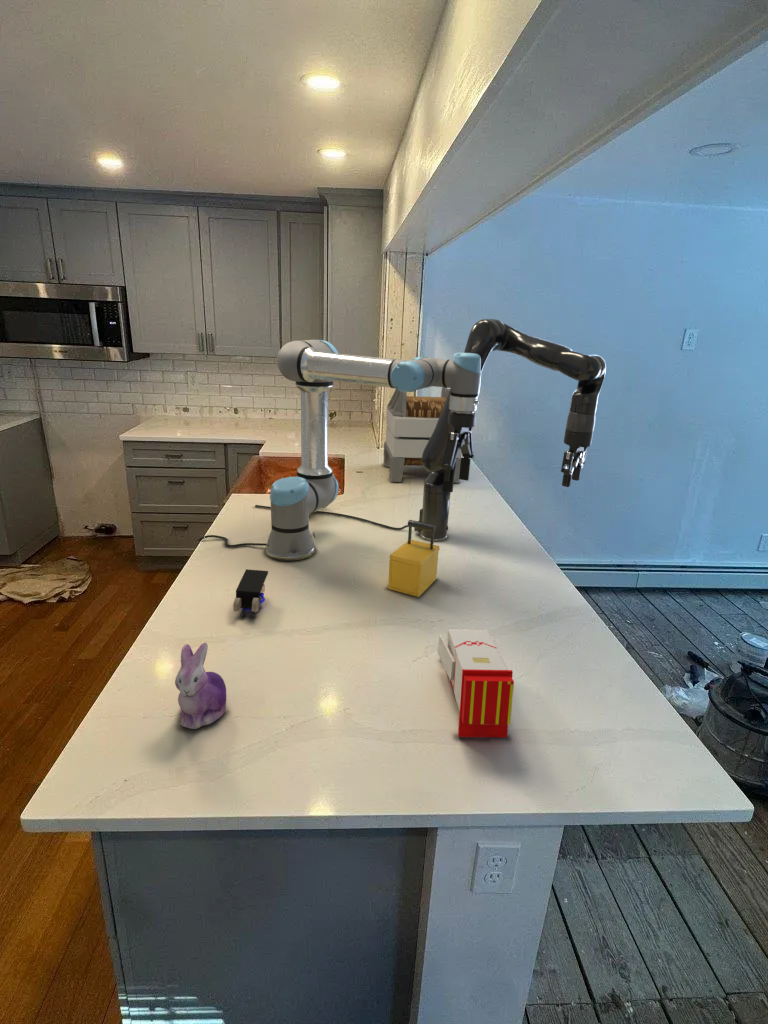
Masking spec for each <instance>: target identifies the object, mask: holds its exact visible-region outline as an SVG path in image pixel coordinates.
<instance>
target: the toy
mask: <svg viewBox="0 0 768 1024" xmlns="http://www.w3.org/2000/svg"><path fill="white" fill-rule="evenodd" d="M446 640H447V643H446V641H445V639H444V636H443V635H442V634H439V637H438V646H437V656H438V657H439V659H440V661H441V663H442V666H443V668H444V670H445V672H446V674H447V677H448V679H449V681H450V684H451V687H452V690H453V693H454V697H455V701H456V705H457V708H458V711H459V714H458V715H459V716H458V730H457V731H458V732H457V737H458V738H508V731H509V726H510V725H511V717H512V707H513V697H514V696H513V695H514V684H515V680H514V679H513V673H514V671H513V670H512V669H508V667H507V665H506V662H505V661H504V659H503V658H502V655H501V653H500V651H499V649H498V647H497V643H496V639H495V637H494V635H493V634H491V632H490V631H489V629H467V628H466V629H465V628H463V629H461V628H460V629H459V628H448V630H447V639H446Z"/></svg>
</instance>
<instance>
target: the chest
mask: <svg viewBox="0 0 768 1024" xmlns="http://www.w3.org/2000/svg"><path fill="white" fill-rule="evenodd" d="M438 562H439V551H438V552H437V553H436V554H434V555H433V556H432V557H431V558H430V559H429V560H428V561H427V562H426V563H425V564H424V565H422V566H421V567H420V566H416V565H412V564H408V563H404V562H400V561H396V560H392V559H390V558H389V567H388V584H387V585H388V586H387V588H388V590H391V591H395V592H399V593H402V594H406V595H410V596H413V597H417V598H420V597H421V596H422V595H423V593H425V592H426V591H427V589H428V588H429V587H431V585H432V584H433V583H434V582H435V581H436V580H437V576H438V575H437V574H438Z"/></svg>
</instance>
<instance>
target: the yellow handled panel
mask: <svg viewBox="0 0 768 1024" xmlns="http://www.w3.org/2000/svg"><path fill="white" fill-rule="evenodd" d="M418 521H419V520H413V519H409V520H407V525H408V526H409V527H408V532H407V533H408V534H407V535H408V536H407V541H406V542H404V543H403V544H402V545H401V546H399V547H398V548H397V549H395V550H394V551H393V552H391V553H390V554H389V560H390V559H392V560H396V561H400V562H404V563H408V564H412V565H416V566H420V567H421V566H422V565H424V564H425V563H426V562H427V561H428V560H429V559H430V558H431V557H432V556H433V555H434V554H436V553H437V552H438V553H439V552H440V547H441V546H440V545H437V544H434V542H435V541H434V531H435V530H436V525H432V524H427V523H423V522H418ZM414 527H415V528H419V529H424V530H428V531H431V540H430V542H429V543H428V542H425V541H420V540H415V539H412V533H413V532H412V529H413V528H414Z"/></svg>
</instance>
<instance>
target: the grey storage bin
mask: <svg viewBox="0 0 768 1024" xmlns="http://www.w3.org/2000/svg"><path fill="white" fill-rule="evenodd" d="M449 391H450V388H445V387H441V392H440V393H441V394H440V396H415V395H414V396H413V395H412V396H411V395H407V394H408V392H401V391H399V390H397V389H395V390H394V392H393V394H392V395H391V398H390V400H389V402H388V404H387V405H386V413H385V414H386V415H385V423H386V428H385V438H384V442H383V466H384V467H388V468H389V475H388V476H389V477H388V478H389V480H390V482H391V483H402V482H403V475H404V469H405V466H406V467H407V466H411V467H412V466H413V467H415V466H416V467H417V466H418V467H423V464H422V454H423V451H424V449H425V447H426V445H427V443H428V441H429V439H430V437H431V436H432V434H433V432H434V429H435V427H436V425H437V422H438V419H439V417H440V414H441V412H442V409H443V407H444V404H445V401H446V398H447V396H448V393H449ZM461 458H462V452H461V449H459V452H458V456H457V459H456V468H455V476H454V482H453V484H455V483H456V484H459V483H461V479H459V474H460V464H461Z"/></svg>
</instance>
